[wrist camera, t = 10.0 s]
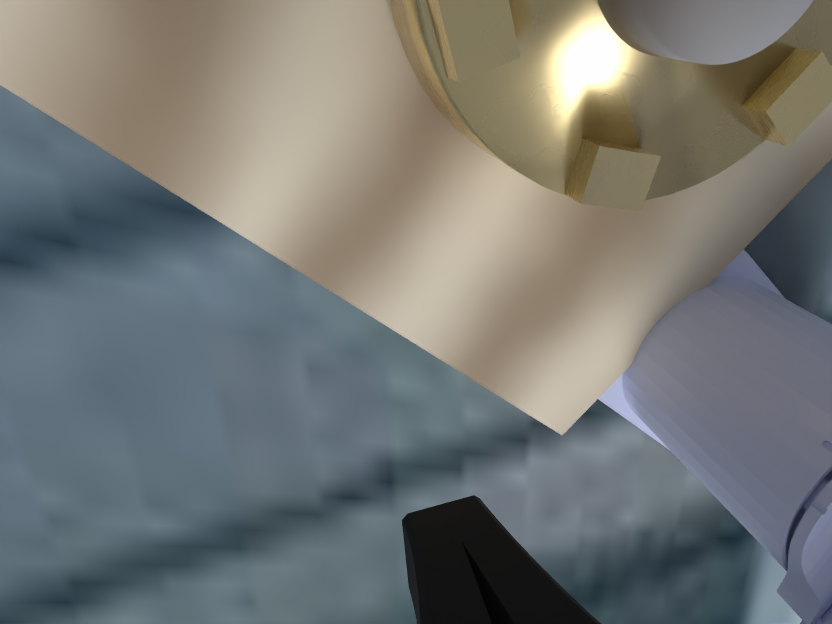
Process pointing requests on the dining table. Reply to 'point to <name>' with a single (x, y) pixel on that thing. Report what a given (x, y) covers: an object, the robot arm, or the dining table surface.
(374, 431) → the dining table surface
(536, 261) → the base plate
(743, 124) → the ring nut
